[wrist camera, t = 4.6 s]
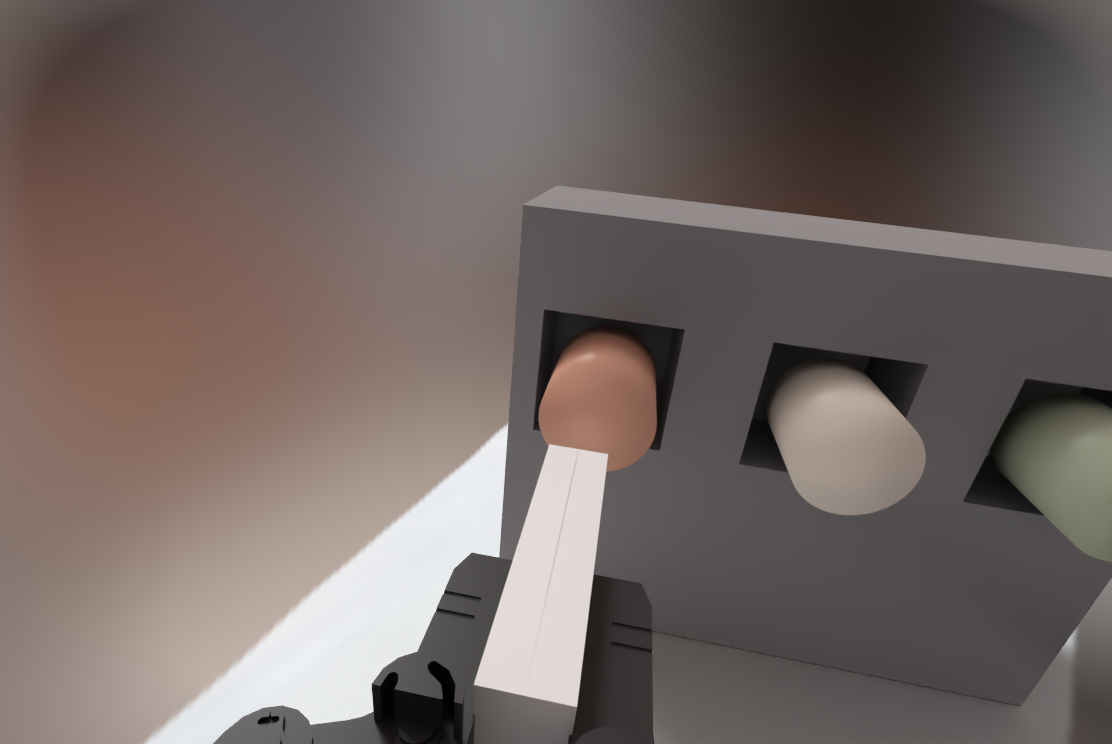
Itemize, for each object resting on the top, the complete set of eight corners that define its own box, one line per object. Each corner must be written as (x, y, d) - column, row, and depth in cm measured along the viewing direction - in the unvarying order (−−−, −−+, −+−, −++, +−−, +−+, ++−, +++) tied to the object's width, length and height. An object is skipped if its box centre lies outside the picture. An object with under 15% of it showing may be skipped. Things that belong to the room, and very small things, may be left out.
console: (941, 582, 29) (1117, 252, 22) (1020, 705, 23) (1307, 301, 15) (527, 506, 32) (556, 185, 24) (496, 598, 25) (523, 204, 18)
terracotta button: (646, 422, 22) (663, 333, 20) (645, 480, 18) (666, 377, 16) (553, 407, 22) (562, 318, 20) (534, 461, 18) (543, 359, 17)
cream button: (855, 456, 21) (890, 366, 19) (898, 524, 17) (946, 421, 15) (754, 439, 21) (780, 350, 19) (775, 503, 17) (810, 400, 16)
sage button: (1082, 493, 20) (1139, 402, 18) (1178, 573, 16) (1259, 468, 15) (972, 475, 20) (1018, 385, 19) (1041, 549, 17) (1106, 445, 15)
